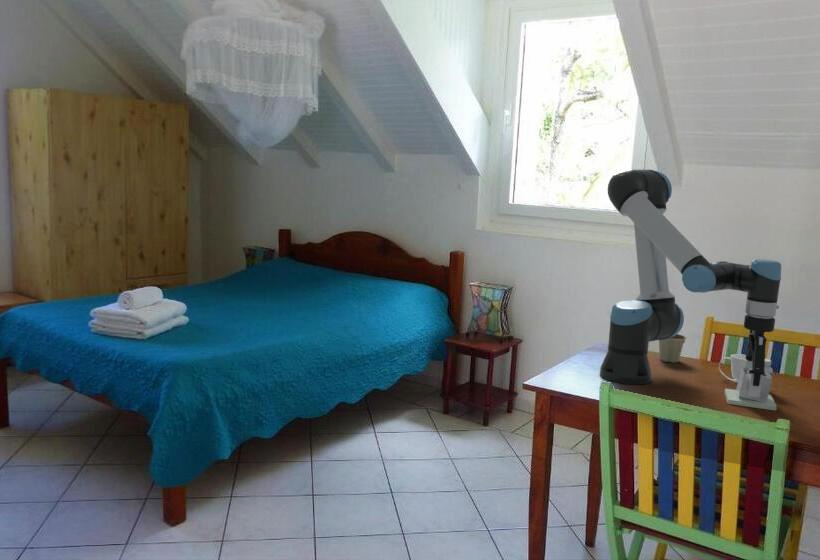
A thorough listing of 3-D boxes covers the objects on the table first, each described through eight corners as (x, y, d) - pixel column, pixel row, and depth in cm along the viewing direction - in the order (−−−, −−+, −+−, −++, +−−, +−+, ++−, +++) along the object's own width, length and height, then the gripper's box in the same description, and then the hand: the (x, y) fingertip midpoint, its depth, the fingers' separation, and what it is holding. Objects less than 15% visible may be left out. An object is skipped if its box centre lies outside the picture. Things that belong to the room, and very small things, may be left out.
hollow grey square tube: (738, 396, 188) (744, 372, 187) (736, 389, 195) (741, 366, 193) (766, 402, 186) (772, 378, 185) (762, 395, 192) (768, 372, 191)
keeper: (727, 403, 188) (731, 371, 186) (724, 392, 198) (728, 362, 196) (776, 410, 184) (780, 378, 182) (770, 398, 194) (774, 367, 192)
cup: (751, 386, 204) (755, 361, 203) (715, 380, 209) (718, 355, 208) (753, 381, 210) (756, 356, 209) (718, 375, 215) (721, 350, 214)
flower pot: (688, 360, 232) (690, 336, 230) (678, 365, 225) (680, 340, 223) (660, 355, 238) (663, 331, 236) (650, 359, 231) (652, 335, 229)
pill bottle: (750, 387, 204) (754, 356, 203) (770, 391, 201) (775, 359, 200) (748, 391, 200) (752, 359, 198) (768, 395, 197) (772, 363, 195)
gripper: (782, 326, 174) (772, 404, 177) (768, 309, 197) (759, 379, 200) (750, 322, 177) (740, 400, 180) (740, 306, 200) (732, 375, 203)
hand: (750, 389), depth 190 cm, fingers open, 13 cm apart
